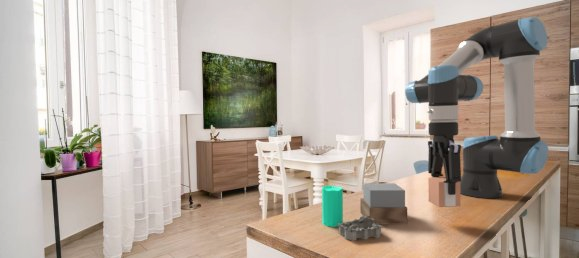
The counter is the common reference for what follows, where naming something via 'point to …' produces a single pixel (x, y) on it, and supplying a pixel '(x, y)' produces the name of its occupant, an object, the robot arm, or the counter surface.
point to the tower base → (384, 213)
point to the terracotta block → (441, 191)
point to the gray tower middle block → (384, 195)
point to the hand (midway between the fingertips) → (443, 202)
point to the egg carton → (360, 228)
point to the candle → (332, 205)
